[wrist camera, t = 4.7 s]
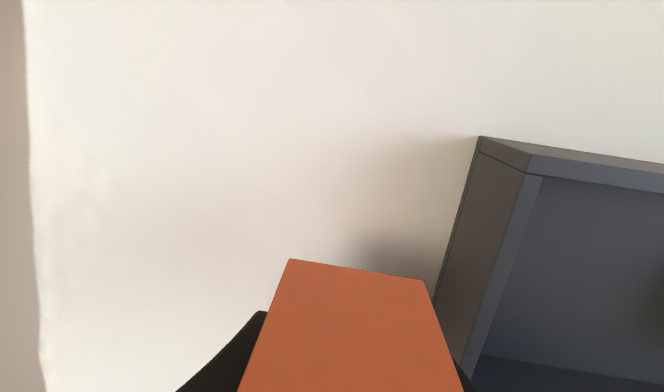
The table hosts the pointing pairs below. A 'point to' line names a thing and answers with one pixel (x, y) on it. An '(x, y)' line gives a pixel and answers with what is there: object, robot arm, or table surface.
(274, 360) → the terracotta block
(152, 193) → the table surface
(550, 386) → the tub
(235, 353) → the robot arm
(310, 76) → the table surface
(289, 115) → the table surface
